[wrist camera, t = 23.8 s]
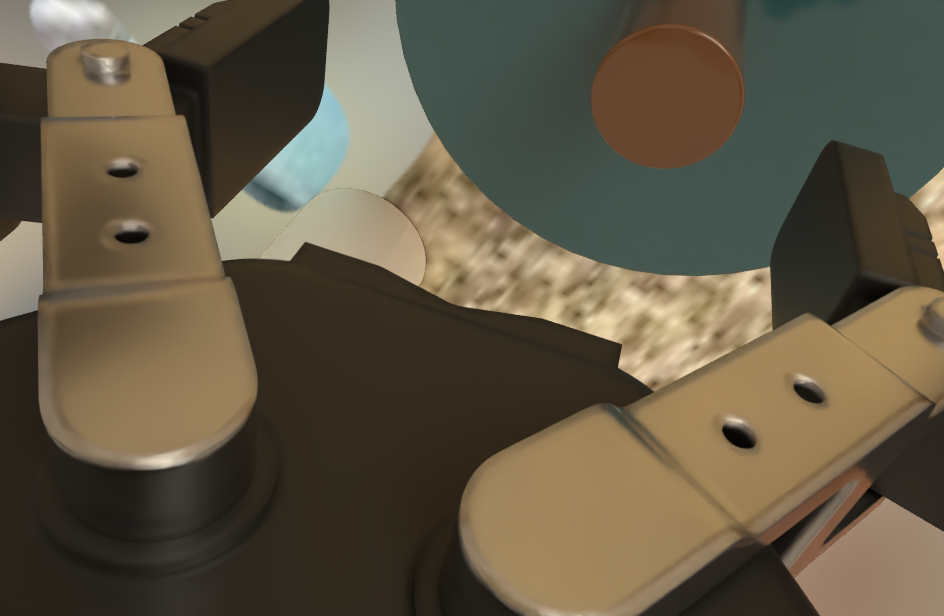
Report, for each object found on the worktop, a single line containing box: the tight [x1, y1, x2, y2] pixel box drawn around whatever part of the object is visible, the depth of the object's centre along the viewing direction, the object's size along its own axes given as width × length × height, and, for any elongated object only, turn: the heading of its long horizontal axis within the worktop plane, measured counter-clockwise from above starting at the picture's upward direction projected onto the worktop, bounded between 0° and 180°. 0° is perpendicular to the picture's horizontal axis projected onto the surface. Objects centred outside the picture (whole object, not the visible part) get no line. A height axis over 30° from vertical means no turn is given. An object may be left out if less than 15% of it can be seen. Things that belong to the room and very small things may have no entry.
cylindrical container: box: [258, 188, 426, 286], centre depth 32 cm, size 7×7×25 cm
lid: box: [395, 0, 944, 276], centre depth 16 cm, size 13×13×6 cm
